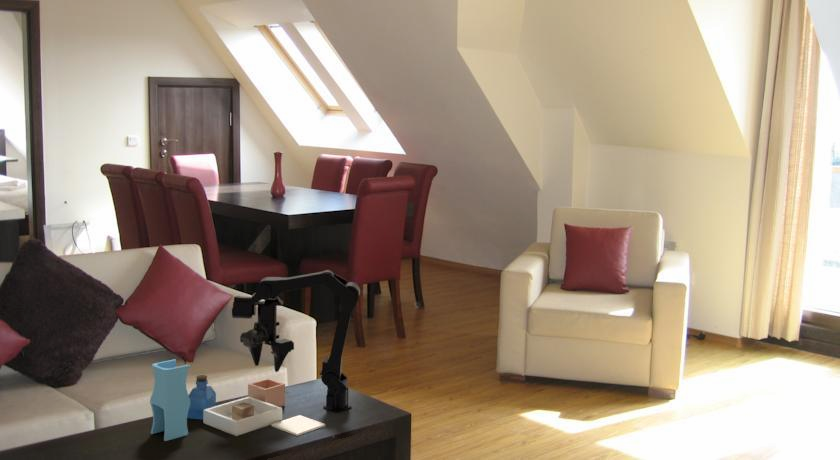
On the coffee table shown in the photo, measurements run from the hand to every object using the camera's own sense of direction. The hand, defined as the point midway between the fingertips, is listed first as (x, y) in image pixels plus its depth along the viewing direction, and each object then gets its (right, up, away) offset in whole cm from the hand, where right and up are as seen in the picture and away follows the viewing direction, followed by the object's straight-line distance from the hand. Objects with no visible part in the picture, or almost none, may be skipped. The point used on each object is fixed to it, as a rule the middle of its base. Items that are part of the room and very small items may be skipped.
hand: (266, 368), depth 268 cm
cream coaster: (+12, -14, -14) cm, 24 cm away
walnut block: (-5, -13, -13) cm, 19 cm away
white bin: (-5, -14, -13) cm, 19 cm away
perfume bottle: (-18, -13, -8) cm, 24 cm away
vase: (-23, -15, -23) cm, 36 cm away
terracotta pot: (0, -12, +2) cm, 12 cm away
